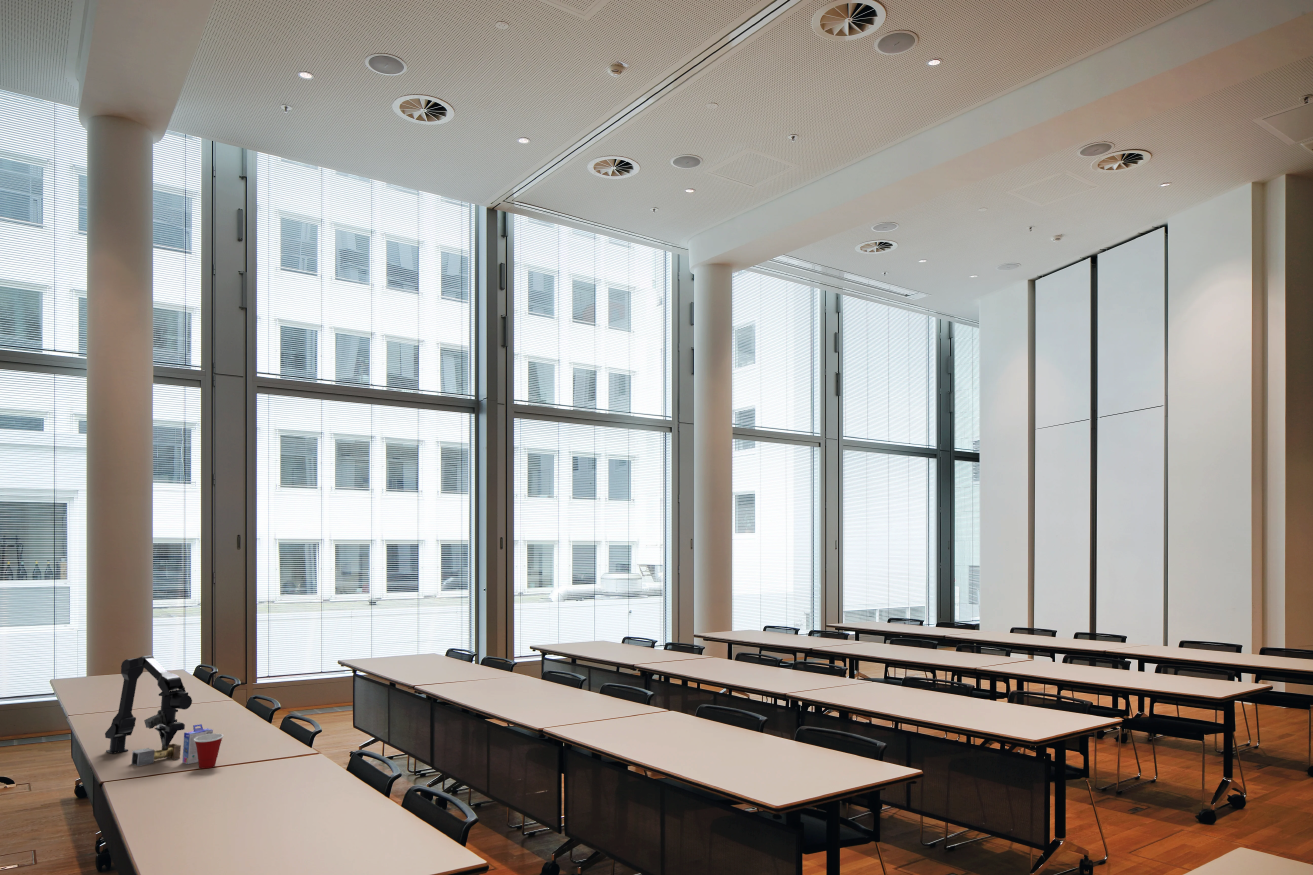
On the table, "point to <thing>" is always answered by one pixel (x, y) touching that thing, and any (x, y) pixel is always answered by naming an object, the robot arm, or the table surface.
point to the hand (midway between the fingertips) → (165, 745)
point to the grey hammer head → (142, 756)
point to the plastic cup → (208, 749)
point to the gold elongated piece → (163, 751)
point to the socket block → (175, 750)
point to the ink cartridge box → (193, 743)
